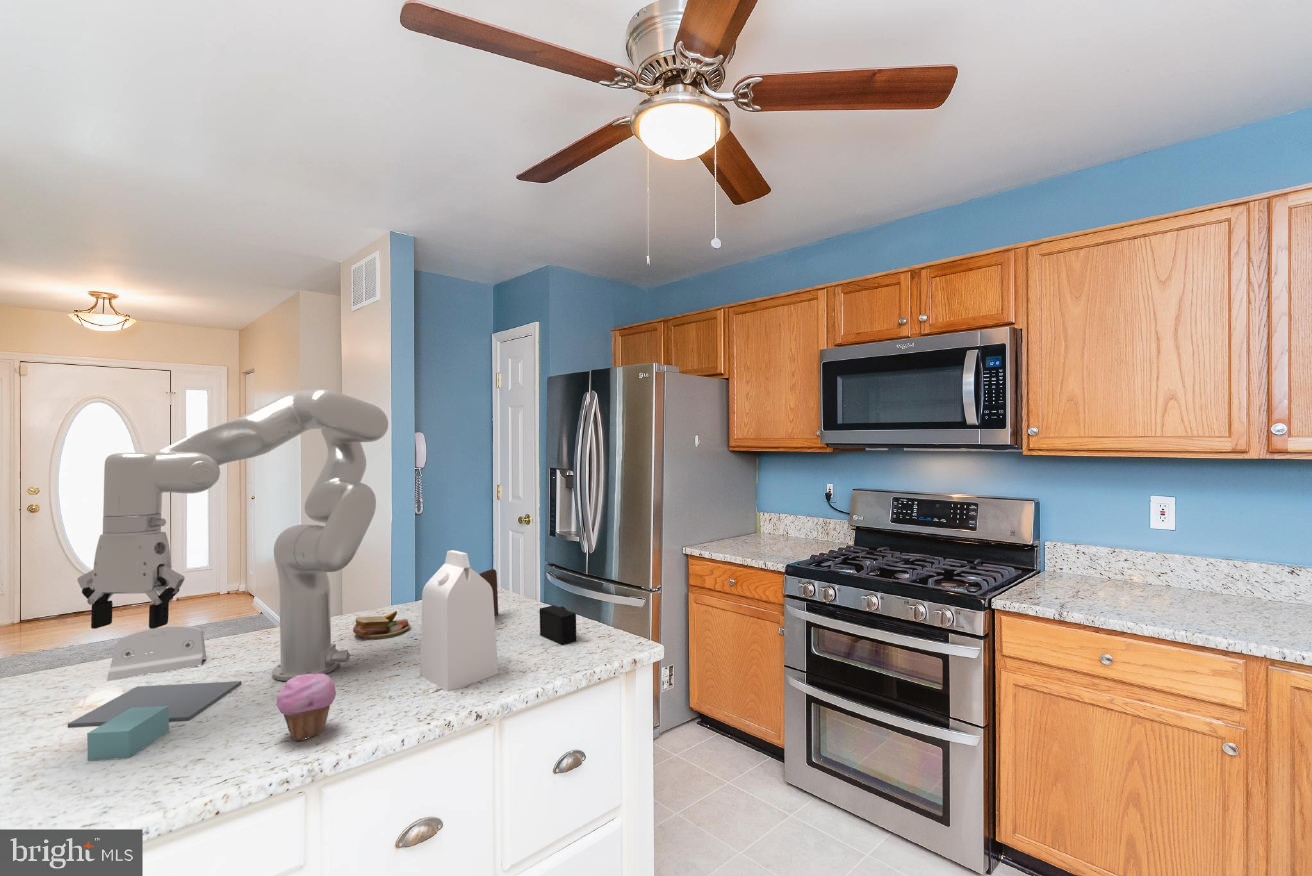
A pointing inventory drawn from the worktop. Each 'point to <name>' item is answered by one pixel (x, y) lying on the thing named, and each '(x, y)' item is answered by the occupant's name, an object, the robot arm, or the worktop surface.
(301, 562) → the robot arm
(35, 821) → the worktop surface
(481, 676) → the milk
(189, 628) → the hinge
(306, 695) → the cupcake
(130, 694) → the mat
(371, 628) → the toy sandwich meal
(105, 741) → the card box
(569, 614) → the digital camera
